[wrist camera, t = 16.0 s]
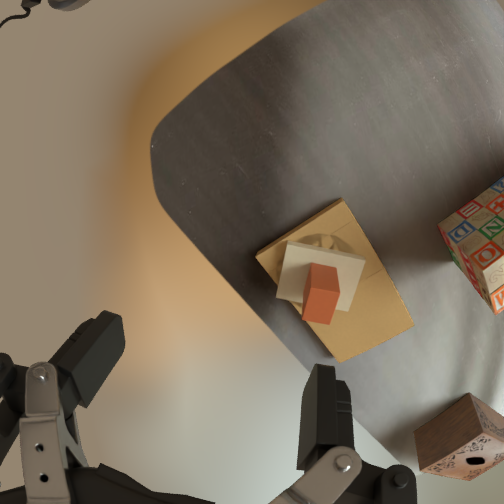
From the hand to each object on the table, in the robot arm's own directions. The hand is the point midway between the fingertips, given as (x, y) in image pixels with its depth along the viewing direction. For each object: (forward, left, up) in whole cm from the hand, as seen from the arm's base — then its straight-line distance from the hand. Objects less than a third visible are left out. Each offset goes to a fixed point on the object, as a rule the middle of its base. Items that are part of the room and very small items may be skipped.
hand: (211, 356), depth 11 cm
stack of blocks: (+29, +7, -25) cm, 39 cm away
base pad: (+10, -10, -25) cm, 29 cm away
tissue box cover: (+52, -39, -25) cm, 69 cm away
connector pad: (+7, -8, -25) cm, 27 cm away
